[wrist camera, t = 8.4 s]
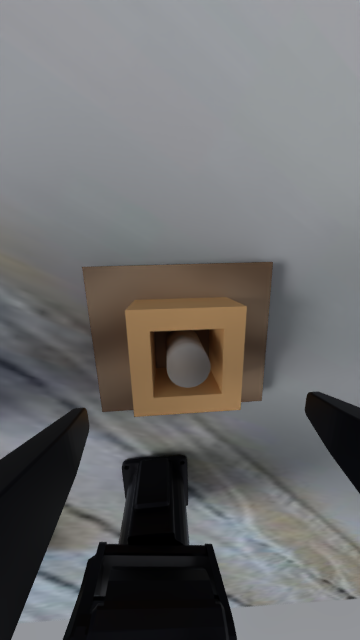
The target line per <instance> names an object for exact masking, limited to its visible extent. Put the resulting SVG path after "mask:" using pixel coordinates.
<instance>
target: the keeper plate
mask: <svg viewBox="0 0 360 640" xmlns="http://www.w3.org/2000/svg"><path fill="white" fill-rule="evenodd" d="M272 267H273V262H252V263H214V264H176V265H138V266H100V267H82V270H83V277H84V284H85V291H86V298H87V305H88V312H89V320H90V327H91V334H92V341H93V348H94V355H95V362H96V369H97V376H98V384H99V391H100V398H101V405H102V412H110V411H124V410H134V408H133V397H132V385H131V374H130V362H129V351H128V339H127V328H126V316H125V310H126V309H127V308H128V307H129V306H130V305H131V304H132V303H133V301H134V300H147V299H181V298H215V297H227V298H230V299H232V300H234V301H236V302H238V303H241V304H243V305H245V306H247V312H246V328H245V344H244V360H243V376H242V392H241V402H250V401H262V389H263V377H264V365H265V352H266V340H267V328H268V316H269V304H270V292H271V279H272ZM154 338H155V357H156V368H167V374H168V376H169V378H170V380H171V381H172V382H173V383H175V384H176V385H178V386H180V387H185V388H190V387H195V386H198V385H200V384H201V383H202V382H204V381H205V380H206V378H207V377H208V375H209V373H210V368H211V366H210V361H209V329H201V330H176V331H154Z"/></svg>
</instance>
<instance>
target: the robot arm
mask: <svg viewBox="0 0 360 640" xmlns="http://www.w3.org/2000/svg"><path fill="white" fill-rule="evenodd" d="M305 413H306V416H307V417H308V419H309V420H310V422H311V424H312V425H313V427H314V429H315V430H316V432H317V433H318V435H319V437H320V438H321V440H322V441H323V443H324V445H325V446H326V448H327V449H328V451H329V452H330V454H331V455H332V457H333V458H334V459H335V461H336V462H337V464H338V465H339V466H340V468H341V469H342V470H343V472H344V473H345V474H346V476H347V477H348V478H349V480H350V481H351V482H352V484H353V485H354V487H355V488H356V489H357V491H358V492H359V493H360V408H359V407H357V406H354V405H352V404H349V403H347V402H344V401H342V400H339V399H336V398H334V397H331V396H329V395H326V394H324V393H321V392H309V393H308V394H307V398H306V404H305ZM88 433H89V420H88V414H87V410H86V408H75V409H73V410H71V411H70V412H68V413H67V414H65V415H64V416H63V417H61V418H60V419H58V420H57V421H55V422H54V423H52V424H51V425H50V426H48V427H47V428H45V429H44V430H42V431H41V432H39V433H38V434H37V435H35V436H34V437H32V438H31V439H29V440H28V441H26V442H25V443H24V444H22V445H21V446H19V447H18V448H16V449H15V450H13V451H12V452H11V453H9V454H8V455H6V456H5V457H3V458H2V459H0V640H11V638H12V636H13V633H14V631H15V628H16V626H17V623H18V621H19V618H20V616H21V613H22V611H23V608H24V605H25V603H26V600H27V598H28V595H29V593H30V590H31V588H32V585H33V583H34V580H35V578H36V575H37V573H38V570H39V568H40V565H41V563H42V560H43V558H44V555H45V553H46V550H47V547H48V545H49V542H50V540H51V537H52V535H53V532H54V530H55V527H56V525H57V522H58V520H59V517H60V515H61V512H62V510H63V507H64V505H65V502H66V500H67V497H68V495H69V492H70V489H71V487H72V484H73V482H74V479H75V476H76V474H77V470H78V467H79V464H80V460H81V457H82V453H83V450H84V447H85V443H86V440H87V436H88ZM122 474H123V482H124V490H125V498H126V502H125V508H124V514H123V520H122V526H121V532H120V538H119V544H107V542H99V545H98V549H97V553H96V554H95V556H93V557H92V558H90V559H88V562H87V566H86V570H85V574H84V577H83V581H82V585H81V588H80V592H79V595H78V598H77V601H76V604H75V607H74V609H73V612H72V615H71V618H70V621H69V624H68V626H67V629H66V632H65V635H64V638H63V640H237V637H236V632H235V626H234V621H233V617H232V613H231V609H230V606H229V602H228V599H227V595H226V592H225V588H224V585H223V581H222V578H221V574H220V571H219V567H218V564H217V560H216V556H215V553H214V549H213V546H212V544H205V545H189V535H188V524H187V513H186V506H187V505H188V474H187V458H186V456H184V455H179V456H168V457H156V458H145V459H133V460H125V461H124V462H123V464H122Z"/></svg>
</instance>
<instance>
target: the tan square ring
mask: <svg viewBox="0 0 360 640" xmlns="http://www.w3.org/2000/svg"><path fill="white" fill-rule="evenodd" d="M246 312H247V306H245V305H243V304H241V303H238V302H236V301H234V300H232V299H230V298H227V297H215V298H181V299H147V300H134V301H133V303H132V304H131V305H130V306H129V307H128V308H127V309H126V310H125V316H126V328H127V339H128V351H129V362H130V374H131V385H132V397H133V408H134V417H140V416H155V415H169V414H184V413H199V412H214V411H229V410H240V408H241V392H242V376H243V360H244V344H245V328H246ZM201 329H209V361H210V366H211V368H210V373H209V375H208V377H207V378H206V380H205V381H204V382H202V383H201V384H200V385H198V386H195V387H190V388H185V387H180V386H178V385H176V384H175V383H173V382H172V381H171V380H170V378H169V376H168V374H167V368H156V357H155V338H154V331H176V330H201Z"/></svg>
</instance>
